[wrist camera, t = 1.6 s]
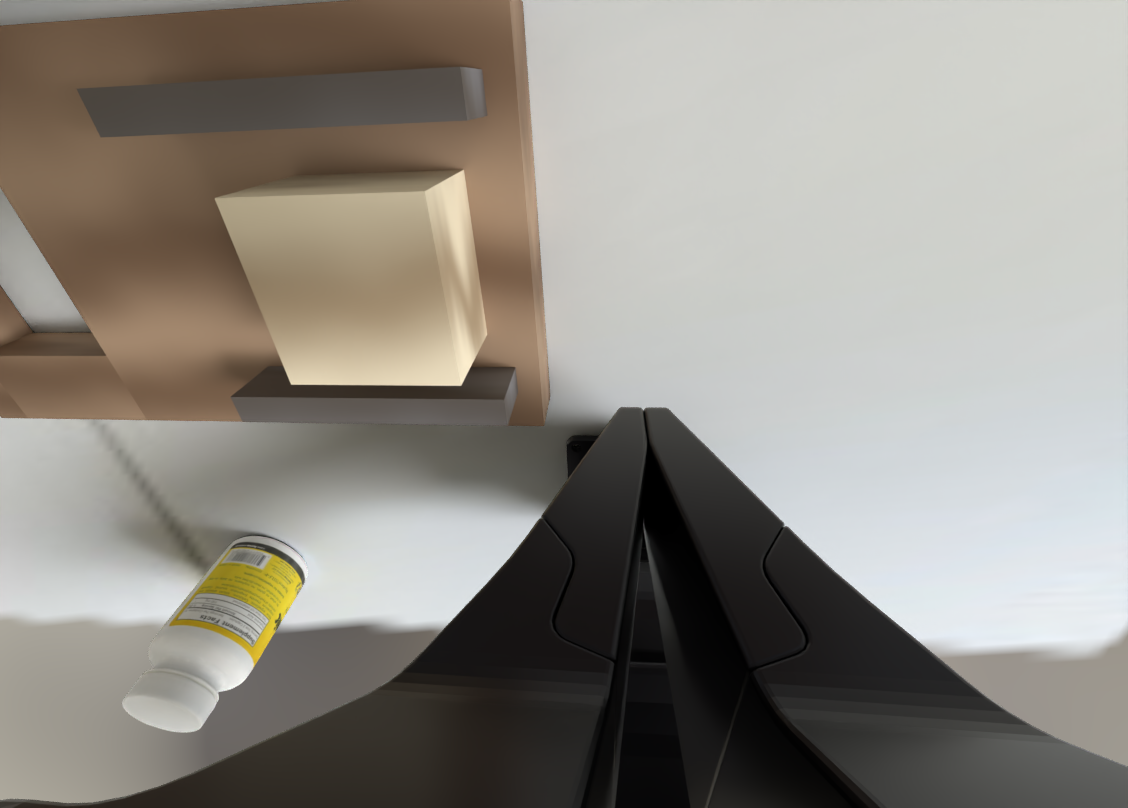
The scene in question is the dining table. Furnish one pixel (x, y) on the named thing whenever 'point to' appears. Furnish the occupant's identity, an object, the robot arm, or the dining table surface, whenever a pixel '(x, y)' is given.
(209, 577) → the supplement bottle
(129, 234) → the lane board
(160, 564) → the dining table surface
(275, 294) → the block
